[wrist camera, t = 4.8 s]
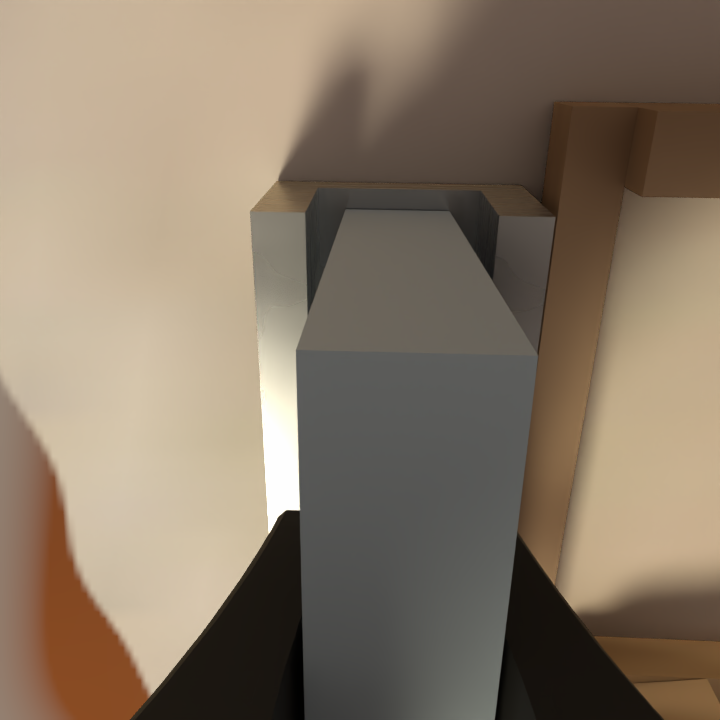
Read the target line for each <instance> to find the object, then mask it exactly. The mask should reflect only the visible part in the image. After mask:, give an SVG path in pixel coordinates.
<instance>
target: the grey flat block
mask: <svg viewBox="0 0 720 720" xmlns="http://www.w3.org/2000/svg"><path fill="white" fill-rule="evenodd" d="M537 362H538V355H537V353H536V351H535V350H534V348H533V346H532V345H531V343H530V341H529V340H528V338H527V337H526V335H525V333H524V332H523V330H522V328H521V327H520V325H519V324H518V322H517V320H516V319H515V317H514V315H513V314H512V312H511V311H510V309H509V307H508V306H507V304H506V302H505V301H504V299H503V297H502V296H501V294H500V293H499V291H498V289H497V288H496V286H495V284H494V283H493V281H492V280H491V278H490V276H489V275H488V273H487V271H486V270H485V268H484V267H483V265H482V263H481V262H480V260H479V258H478V257H477V255H476V253H475V252H474V250H473V249H472V247H471V245H470V244H469V242H468V240H467V239H466V237H465V236H464V234H463V232H462V231H461V229H460V227H459V226H458V224H457V223H456V221H455V219H454V218H453V216H452V214H451V213H450V211H417V210H362V209H345V212H344V215H343V218H342V221H341V224H340V226H339V229H338V232H337V235H336V238H335V241H334V243H333V246H332V249H331V252H330V255H329V257H328V260H327V263H326V266H325V269H324V272H323V274H322V277H321V280H320V283H319V286H318V289H317V291H316V294H315V297H314V300H313V303H312V306H311V308H310V311H309V314H308V317H307V320H306V323H305V325H304V328H303V331H302V334H301V337H300V340H299V342H298V345H297V348H296V377H297V419H298V461H299V503H300V545H301V587H302V628H303V670H304V712H305V720H495V713H496V705H497V697H498V688H499V680H500V671H501V663H502V655H503V646H504V638H505V630H506V621H507V613H508V605H509V596H510V588H511V579H512V571H513V563H514V554H515V546H516V538H517V529H518V521H519V513H520V504H521V496H522V487H523V479H524V471H525V462H526V454H527V446H528V437H529V429H530V421H531V412H532V404H533V395H534V387H535V379H536V370H537Z"/></svg>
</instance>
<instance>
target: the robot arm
mask: <svg viewBox="0 0 720 720" xmlns="http://www.w3.org/2000/svg"><path fill="white" fill-rule="evenodd" d="M130 720H305V712H304V670H303V628H302V587H301V545H300V510H285V511H284V512H283V513H282V514H281V515H279V516H278V518H277V520H276V522H275V524H274V526H273V528H272V529H271V531H270V533H269V535H268V536H267V538H266V540H265V541H264V543H263V545H262V546H261V548H260V550H259V551H258V553H257V555H256V556H255V558H254V559H253V561H252V562H251V564H250V565H249V567H248V568H247V570H246V572H245V573H244V575H243V576H242V578H241V579H240V581H239V582H238V583H237V585H236V586H235V588H234V589H233V591H232V592H231V593H230V595H229V596H228V598H227V599H226V600H225V602H224V603H223V605H222V606H221V607H220V609H219V610H218V612H217V613H216V614H215V616H214V617H213V619H212V620H211V621H210V623H209V624H208V625H207V627H206V628H205V629H204V631H203V632H202V633H201V635H200V636H199V637H198V638H197V640H196V641H195V642H194V643H193V645H192V646H191V647H190V648H189V650H188V651H187V652H186V653H185V655H184V656H183V657H182V658H181V660H180V661H179V662H178V663H177V665H176V666H175V667H174V668H173V670H172V671H171V672H170V673H169V675H168V676H167V677H166V678H165V680H164V681H163V682H162V683H161V685H160V686H159V687H158V688H157V689H156V690H155V692H154V693H153V694H152V695H151V696H150V697H149V699H148V700H147V701H146V702H145V703H144V704H143V706H142V707H141V708H140V709H139V710H138V711H137V712H136V713H135V715H134V716H133V717H132V718H131V719H130ZM495 720H664V719H663V718H662V717H661V716H660V714H659V713H658V712H657V711H656V710H655V709H654V708H653V707H652V705H651V704H650V703H649V702H648V701H647V700H646V699H645V697H644V696H643V695H642V694H641V693H640V692H639V690H638V689H637V688H636V687H635V686H634V685H633V684H632V682H631V681H630V680H629V679H628V678H627V677H626V675H625V674H624V673H623V672H622V671H621V670H620V668H619V667H618V666H617V665H616V664H615V662H614V661H613V660H612V659H611V657H610V656H609V655H608V654H607V653H606V651H605V650H604V649H603V648H602V646H601V645H600V644H599V643H598V641H597V640H596V639H595V638H594V636H593V635H592V634H591V632H590V631H589V630H588V629H587V627H586V626H585V625H584V623H583V622H582V621H581V620H580V618H579V617H578V616H577V615H576V613H575V612H574V611H573V609H572V608H571V607H570V605H569V604H568V603H567V601H566V600H565V599H564V597H563V596H562V595H561V593H560V592H559V591H558V589H557V588H556V587H555V585H554V584H553V582H552V581H551V580H550V578H549V577H548V575H547V574H546V573H545V571H544V570H543V568H542V567H541V566H540V564H539V563H538V561H537V560H536V558H535V557H534V555H533V554H532V552H531V551H530V550H529V548H528V547H527V545H526V544H525V542H524V541H523V539H522V538H521V536H520V535H519V533H518V531H517V538H516V546H515V554H514V563H513V571H512V579H511V588H510V596H509V605H508V613H507V621H506V630H505V638H504V646H503V655H502V663H501V671H500V680H499V688H498V697H497V705H496V713H495Z"/></svg>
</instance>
